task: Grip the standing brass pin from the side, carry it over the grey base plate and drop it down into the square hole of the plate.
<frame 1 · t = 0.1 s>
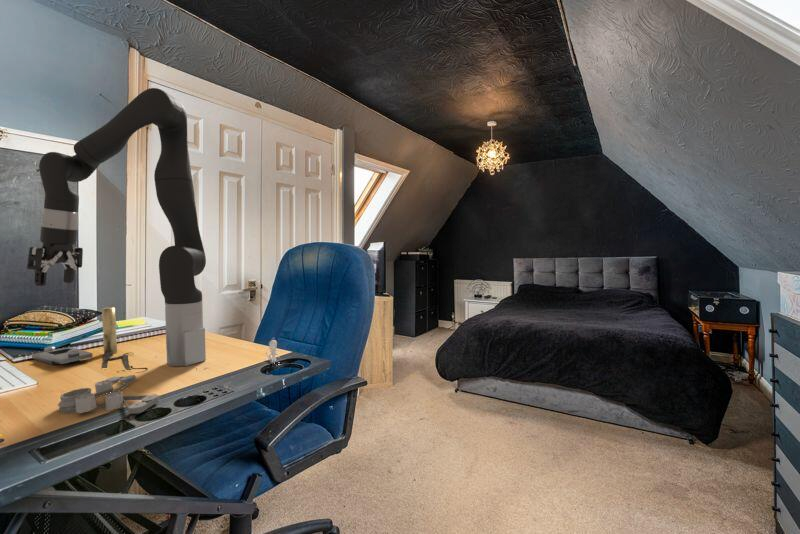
hand: (54, 284, 105), 22 cm above the table, tool pointing down, fingers open, 8 cm apart
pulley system: (105, 403, 80), on the table
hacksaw: (124, 365, 105), on the table
grey base plate: (61, 359, 108), on the table
pin: (110, 353, 115), on the table
toy figurine: (271, 362, 107), on the table
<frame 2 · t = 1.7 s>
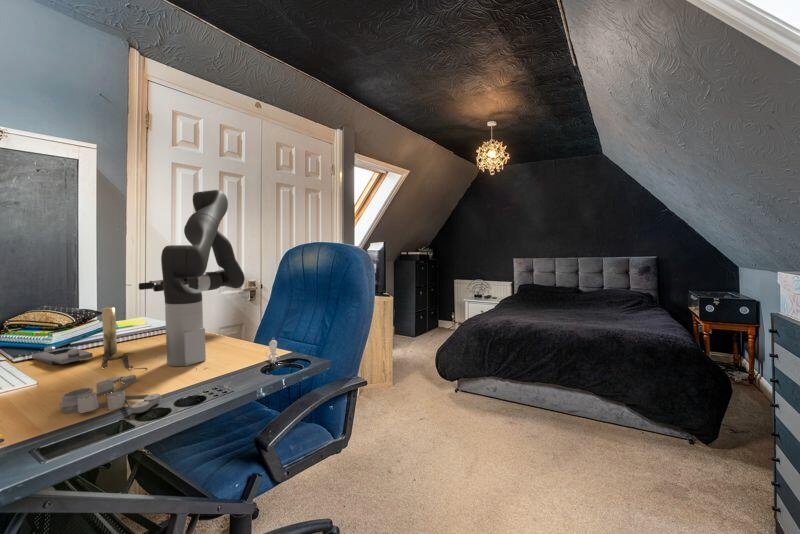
hand: (146, 287, 123), 19 cm above the table, tool horizontal, fingers open, 8 cm apart
nothing on the table moved.
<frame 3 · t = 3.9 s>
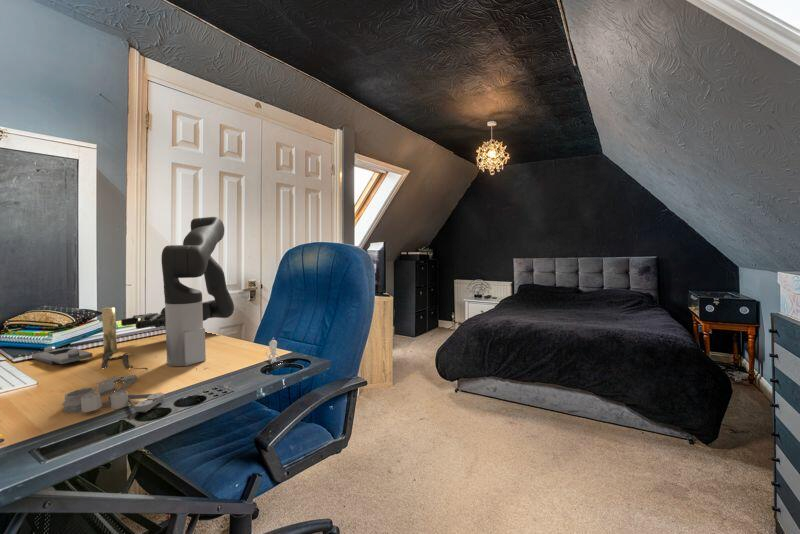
hand: (128, 324, 119), 8 cm above the table, tool horizontal, fingers open, 8 cm apart
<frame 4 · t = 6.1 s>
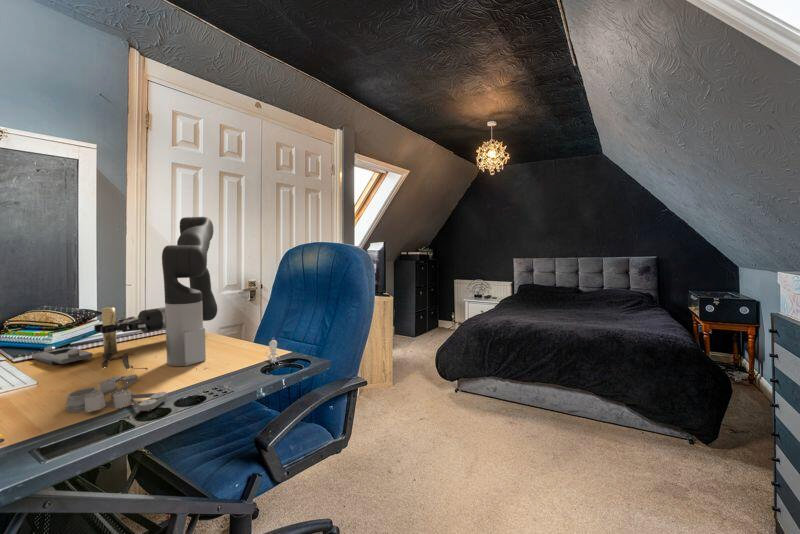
hand: (98, 329, 111), 8 cm above the table, tool horizontal, fingers closed on pin, 3 cm apart
pin: (110, 353, 114), on the table, touching gripper
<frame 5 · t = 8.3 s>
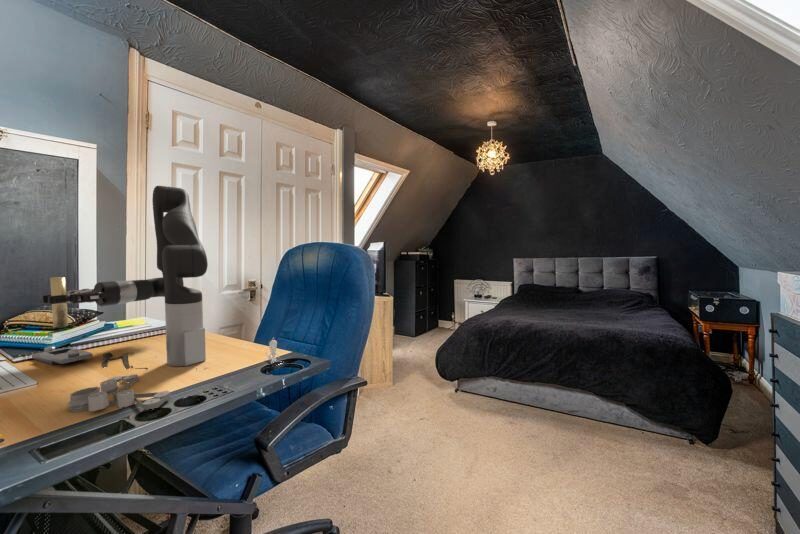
hand: (46, 299, 105), 18 cm above the table, tool horizontal, fingers closed on pin, 3 cm apart
pin: (60, 325, 108), point 10 cm above the table, touching gripper
when the fingers open (9 cm above the table, at t = 10.6 s): pin drops 1 cm, resting in grey base plate.
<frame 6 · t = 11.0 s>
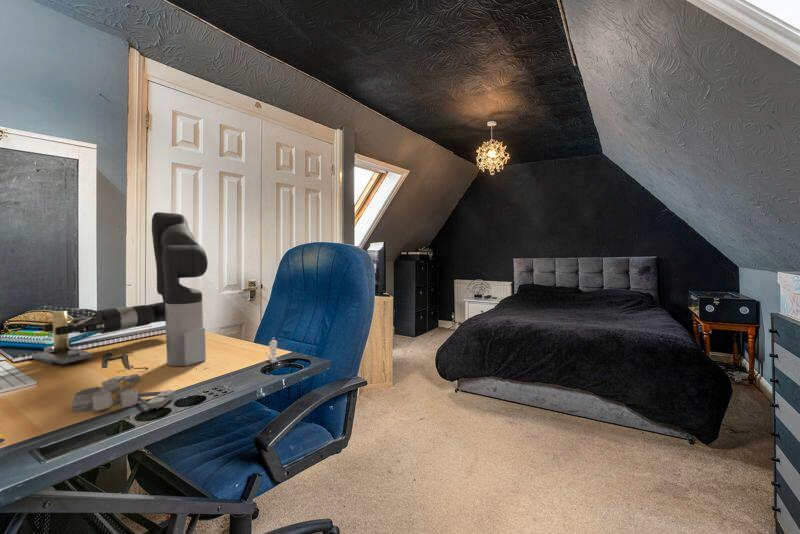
hand: (50, 329, 105), 9 cm above the table, tool horizontal, fingers open, 6 cm apart
pin: (62, 359, 108), resting in grey base plate
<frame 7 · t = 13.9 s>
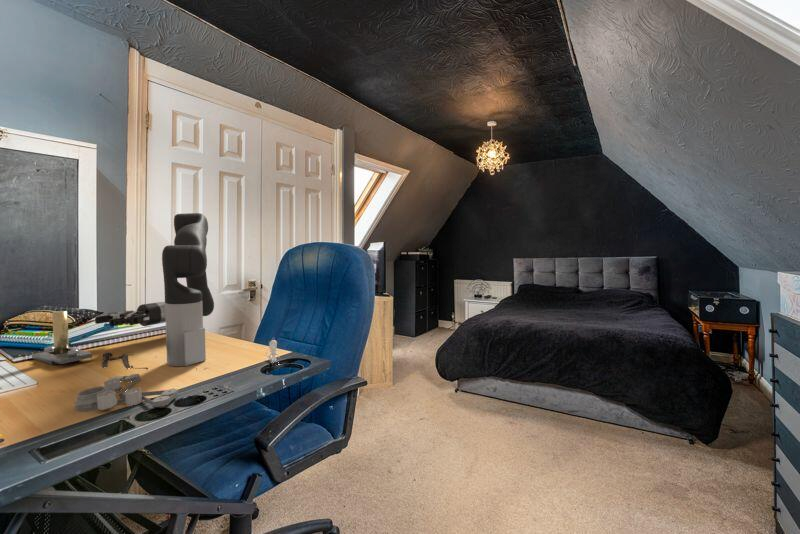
hand: (102, 321, 117), 9 cm above the table, tool horizontal, fingers open, 8 cm apart
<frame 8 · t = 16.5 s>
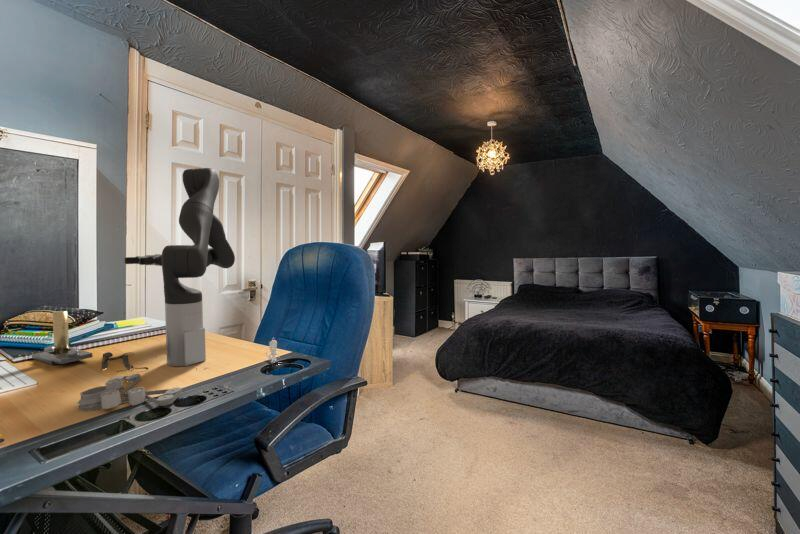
hand: (132, 261, 121), 28 cm above the table, tool horizontal, fingers open, 8 cm apart
at the end: pin 0.1 cm off-centre on the grey base plate, point 0.0 cm above the grey base plate's base; pin tilted 1°; the gripper is holding nothing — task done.
